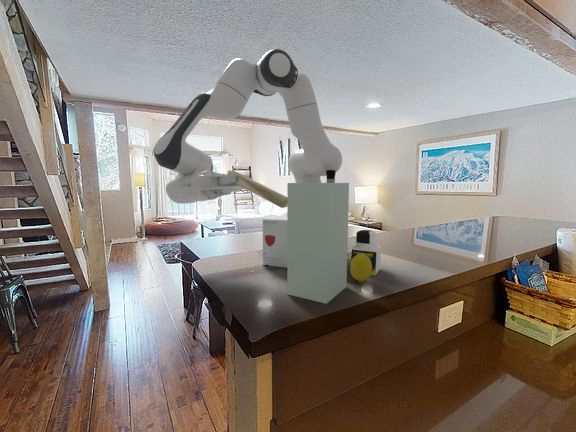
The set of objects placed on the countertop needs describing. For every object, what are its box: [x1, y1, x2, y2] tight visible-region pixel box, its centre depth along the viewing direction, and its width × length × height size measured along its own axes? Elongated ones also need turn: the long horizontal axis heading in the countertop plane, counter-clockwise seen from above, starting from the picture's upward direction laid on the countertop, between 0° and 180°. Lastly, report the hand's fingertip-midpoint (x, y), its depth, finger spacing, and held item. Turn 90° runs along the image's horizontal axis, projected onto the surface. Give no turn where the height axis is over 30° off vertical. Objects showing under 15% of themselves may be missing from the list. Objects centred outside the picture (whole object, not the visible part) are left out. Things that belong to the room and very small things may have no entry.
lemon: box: [349, 253, 372, 283], centre depth 76 cm, size 6×6×8 cm
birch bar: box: [226, 170, 287, 209], centre depth 78 cm, size 2×20×2 cm, turn 57°
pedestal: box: [286, 182, 350, 305], centre depth 69 cm, size 12×10×26 cm
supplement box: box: [262, 215, 287, 269], centre depth 94 cm, size 9×9×15 cm
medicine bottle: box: [351, 229, 382, 276], centre depth 86 cm, size 7×7×12 cm
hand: (241, 178), depth 80 cm, fingers closed on birch bar, 2 cm apart
